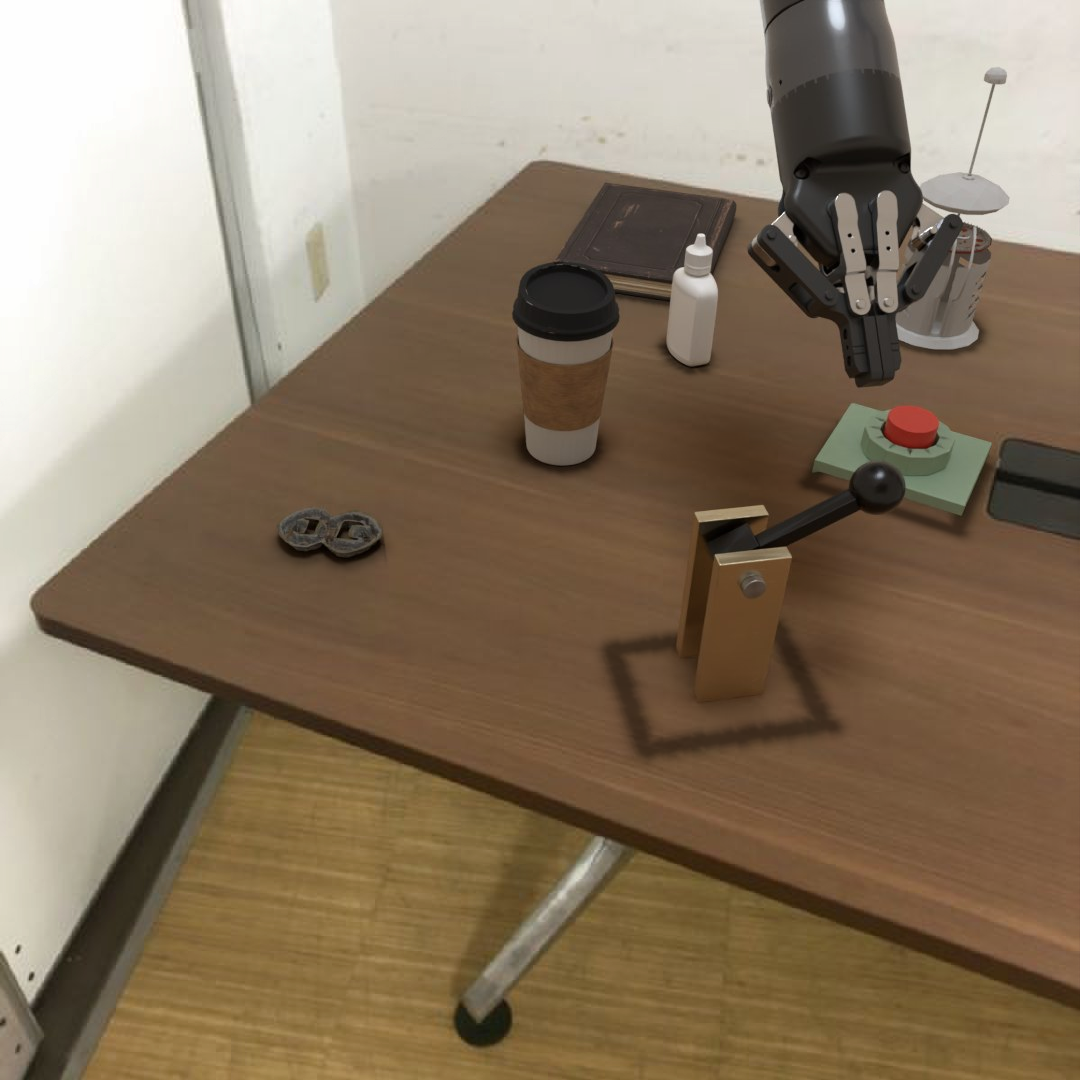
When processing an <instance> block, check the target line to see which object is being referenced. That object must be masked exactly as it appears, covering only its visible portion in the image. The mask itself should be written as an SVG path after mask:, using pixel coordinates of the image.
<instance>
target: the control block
mask: <svg viewBox="0 0 1080 1080" xmlns="http://www.w3.org/2000/svg"><path fill="white" fill-rule="evenodd" d="M890 410H891V409H885V410H879V409H875V408H872V407H868V406H865V405H862V404H858V403H855V402H851V403H850V405H849V406H848V408H847V409H846V411H845V412H844V414H843V416H842V417H841V418H840V419H839V422H837V425H836V426H835V428H834V429H833V431H832V432H831V434H830V435H829V437H828V439H827V440H826V442H825V443H824V445H823V446H822V448H821V449H820V451H819V452H818V454H817V456H816V457H815V458H814V461H813V466H812V471H811V473H823V474H827V475H830V476H833V477H835V478H838V479H839V478H840V479H843V480H845V481H849V482H850V479H851V477H852V475H853V473H854V472H855V471H856V469H857V468H859V467H860V466H861V465H863V464H865V463H867V462H870V461H885V462H888V463H891V464H892V465H894V466H895V467H897V468H898V469H899V471H900V472H901V473H902V475H903V477H904V480H905V484H906V490H905V495H904V498H903V499H907V500H910V501H912V502H916V503H919V504H921V505H924V506H925V505H926V506H929V507H933V508H935V509H937V510H942V511H945V512H947V513H950V514H951V513H952V514H954V515H958V516H963V514H964V511H965V509H966V507H967V504H968V502H969V500H970V497H971V496H972V493H973V491H974V490H975V489H974V488H975V486H976V484H977V482H978V479H979V477H980V474H981V473H982V470H983V468H984V465H985V463H986V461H987V459H988V456H989V454H990V451H991V448H992V446H993V442H991V441H987V440H984V439H981V438H977V437H974V436H970V435H967V434H963V433H960V432H956V431H953V430H951V429H950V427H949V426H948V425H946V424H945V423H943V422H942V421H941V420H939V427H938V430H937V434H936V437H935V441H934V443H933V445H932V446H931V447H929V448H927V449H908V448H905V447H902V446H898V445H895V444H893V443H892V442H890V441H889V440H887V439H886V438H885V436H884V428H885V424H886V421H887V417H888V413H889V412H890Z"/></svg>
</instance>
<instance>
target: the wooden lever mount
mask: <svg viewBox="0 0 1080 1080" xmlns="http://www.w3.org/2000/svg"><path fill="white" fill-rule="evenodd" d="M769 515H770V514H769V512H768V511H767V509H766V507H765V505H764V504H757V505H749V506H738V507H730V508H729V507H728V508H719V509H710V510H701V511H700V510H699V511H694V513H693V521H692V527H691V535H690V542H689V549H688V556H687V564H686V570H685V571H686V572H685V579H684V585H683V594H682V601H681V607H680V608H681V609H680V615H679V621H678V631H677V637H676V638H677V639H676V644H675V650H676V652H677V654H678V657H679V659H685V658H694V657H698V659H697V666H696V672H695V679H694V686H693V691H692V692H693V694H694V697H695V699H696V703H706V702H716V701H722V700H728V699H730V700H731V699H737V698H744V697H752V696H753V697H754V696H759V695H760V696H761V695H763V694H764V692H765V687H766V682H767V677H768V672H769V668H770V665H771V664H770V662H771V658H772V655H773V650H774V644H775V641H776V640H775V639H776V635H777V630H778V627H779V621H780V616H781V613H782V612H781V611H782V606H783V602H784V597H785V593H786V588H787V584H788V579H789V575H790V569H791V565H792V560H793V556H792V554H791V552H790V550H789V549H788V546H786V547H777V548H767V549H758V550H749V551H740V552H731V553H722V554H715V556H714V562H713V559H712V557H711V555H710V553H709V551H708V549H707V547H706V543H708V542H710V541H712V540H714V539H716V538H718V537H720V536H722V535H724V534H726V533H728V532H730V531H732V530H734V529H736V528H738V527H740V526H742V525H744V524H746V523H747V524H748V525H749V527H750V529H751V531H752V533H753V535H754V536H755V535H757V534H759V533H761V532H763V531H765V530H767V526H768V521H769Z"/></svg>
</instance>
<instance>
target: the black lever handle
mask: <svg viewBox="0 0 1080 1080" xmlns="http://www.w3.org/2000/svg"><path fill="white" fill-rule="evenodd" d="M905 490H906V484H905V480H904V477H903V475H902V473H901V472H900V471H899V469H898V468H897V467H895V466H894V465H892V464H891V463H888V462H885V461H870V462H867V463H865V464H863V465H861V466H860V467H859V468H857V469H856V471H855V472H854V473H853V475H852V477H851V479H850V481H849V483H848V488H846V489H845V490H842V491H840V492H838V493H836V494H835V495H832V496H831V497H828V498H826V499H824V500H822V501H820V502H819V503H816V504H815V505H812V506H810V507H808V508H806V509H804V510H802V511H801V512H798V513H796V514H794V515H792V516H790V517H789V518H786V519H785V520H783V521H781V522H779V523H776V524H774V525H773V526H771V527H768V528H766V530H765V531H763V532H761V533H759V534H757V535H755V536H754V535H753V533H752V531H751V529H750V527H749V525H748V524H747V523H746V524H744V525H742V526H740V527H738V528H736V529H734V530H732V531H730V532H728V533H726V534H724V535H722V536H720V537H718V538H716V539H714V540H712V541H710V542H708V543H706V547H707V549H708V551H709V553H710V555H711V557H712V559H713V562H714V556H715V554H722V553H731V552H740V551H749V550H758V549H767V548H777V547H788V546H791V545H792V544H794V543H796V542H799V541H801V540H803V539H804V538H806V537H809V536H811V535H812V534H815V533H817V532H818V531H819V532H820V531H821V530H823V529H824V528H826V527H828V526H831V525H833V524H835V523H837V522H839V521H841V520H843V519H845V518H847V517H849V516H851V515H854V514H855V513H857V512H859V511H862V512H863V513H865V514H868V515H872V516H881V515H886V514H889V513H891V512H893V511H894V510H896V509H897V508H898V507H899V506H900V504H901V503H902V502H903V500H904V499H905V498H904V495H905Z"/></svg>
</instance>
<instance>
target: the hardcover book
mask: <svg viewBox="0 0 1080 1080" xmlns="http://www.w3.org/2000/svg"><path fill="white" fill-rule="evenodd" d="M736 213H737V202H736V201H735V200H734V199H732V198H724V197H717V196H710V195H701V194H696V193H695V194H694V193H687V192H678V191H671V190H663V189H658V188H657V189H656V188H649V187H641V186H635V185H628V184H627V185H626V184H621V183H620V184H619V183H612V182H611V183H610V182H604V183H603V185H602V186H601V188H600V190H599V191H598V192H597V194H596V196H595V197H594V199H593V200H592V201H591V203H590V205H589V207H588V208H587V209H586V211H585V213H584V214H583V215H582V217H581V219H580V220H579V222H578V223H577V225H576V226H575V228H574V229H573V231H572V232H571V234H570V235H569V237H568V238H567V239H566V242H565V243H564V245H563V246H562V247H561V249H560V251H559V252H558V254H557V255H556V256H555V258H554V260H553V262H557V261H563V262H574V263H581V264H585V265H588V266H591V267H594V268H596V269H597V270H599V271H601V272H602V273H603V274H605V275H606V276H607V277H608V279H609V280H610V281H611V283H612V284H613V287H614V291H615V294H621V295H627V296H634V297H640V298H648V299H654V300H660V301H666V302H670V299H671V290H672V281H673V275H674V273H675V271H676V270H677V269H679V268H682V267H684V263H685V254H686V248H687V247H688V246H690V245H694V244H695V241H696V238H697V235H698V234H704V235H705V240H706V246H709V247H710V248H711V249H712V250H713V255H712V263H711V271H710V273H711V275H712V276H713V272H714V270H715V267H716V264H717V261H718V259H719V256H720V254H721V252H722V249H723V247H724V244H725V242H726V239H727V237H728V234H729V231H730V229H731V227H732V224H733V221H734V218H735V216H736Z"/></svg>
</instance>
